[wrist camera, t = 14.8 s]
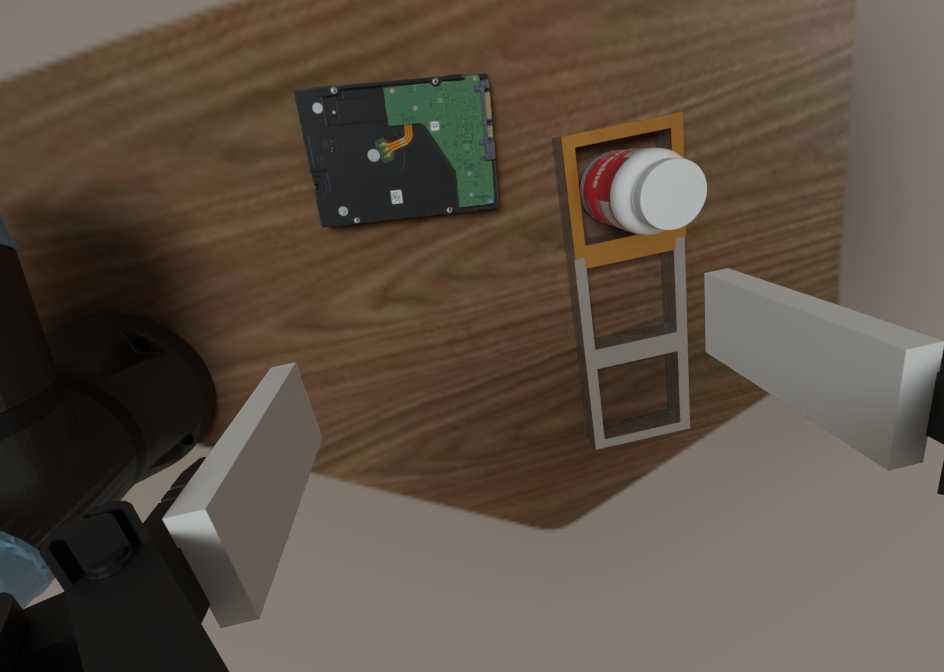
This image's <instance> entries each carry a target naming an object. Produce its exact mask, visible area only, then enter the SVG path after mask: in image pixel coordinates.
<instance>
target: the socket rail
mask: <svg viewBox="0 0 944 672" xmlns="http://www.w3.org/2000/svg"><path fill="white" fill-rule="evenodd" d="M653 131H655V143H656V148H665V149H669V150H672V151H674V152H676V153H678V154H679V155H680V156H682V157H683V158H684V140H683V112H679V113H674V114H669V115H664V116H659V117H654V118H649V119H645V120H640V121H635V122H630V123H625V124H620V125H615V126H611V127H606V128H601V129H596V130H591V131H586V132H581V133H576V134H572V135H567V136H562V137H557V138H552V144H553V152H554V160H555V169H556V177H557V185H558V193H559V202H560V210H561V218H562V227H563V235H564V243H565V251H566V260H567V268H568V276H569V285H570V293H571V301H572V310H573V318H574V326H575V334H576V343H577V351H578V359H579V368H580V376H581V384H582V392H583V401H584V409H585V417H586V426H587V434H588V438H589V439H590V441H591V443H592V444H593V446H594V447H595V449H596V450H597V449H602V448H606V447H610V446H615V445H619V444H623V443H628V442H632V441H637V440H641V439H645V438H650V437H654V436H658V435H663V434H667V433H671V432H676V431H680V430H685V429H689V428H690V408H689V374H688V340H687V307H686V273H685V239H684V236H686V225H685V226H683V227H681V228H678V229H675V230H666V231H663V232H661V233H658V234H653V235H640V234H636V233H632V232H629V231H626V230H625V231H620V232H615V233H611V234H606V235H601V236H596V237H592V238H587V239H584V229H583V220H582V210H581V201H580V191H579V182H578V172H577V163H576V153H575V147H580V146H585V145H590V144H595V143H599V142H604V141H609V140H614V139H619V138H624V137H629V136H633V135H638V134H643V133H648V132H653ZM657 253H661V268H662V289H663V310H664V324H660V325H656V326H651V327H647V328H642V329H638V330H633V331H629V332H624V333H620V334H615V335H611V336H606V337H602V338H597V339H594V334H593V325H592V315H591V306H590V296H589V287H588V278H587V268H592V267H597V266H602V265H606V264H611V263H615V262H620V261H625V260H629V259H634V258H639V257H643V256H648V255H653V254H657ZM663 354H666V372H667V393H668V410H667V411H663V412H658V413H654V414H649V415H645V416H641V417H636V418H632V419H627V420H623V421H619V422H614V423H610V424H605V425H603V419H602V410H601V400H600V391H599V381H598V372H597V369H600V368H604V367H609V366H613V365H618V364H622V363H627V362H631V361H636V360H640V359H645V358H649V357H654V356H658V355H663Z"/></svg>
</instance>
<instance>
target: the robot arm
mask: <svg viewBox="0 0 944 672" xmlns="http://www.w3.org/2000/svg"><path fill="white" fill-rule="evenodd" d="M18 250H20V249H19V246H18V244H17V243H16V241H15V240H13V239H12V238H10V236H9V234H8V231H7V229H6V227H5V224H4V222H3V219H2V217H1V214H0V672H229V671H228V669H227V667H226V665H225V664H224V662H223V660H222V659H221V657H220V655H219V654H218V652H217V650H216V648H215V647H214V645H213V643H212V642H211V640H210V638H209V636H208V635H207V633H206V631H205V630H204V628H203V626H202V625H201V623H202V621H203V619H204V617H205V615H206V613H207V610H208V608H209V607H210V609H211V611H212V612H213V614H214V616H215V618H216V620H217V622H218V624H219V626H220V628H223V627H227V626H232V625H236V624H240V623H244V622H249V621H253V620H257V619H259V618H260V616H261V612H262V610H263V607H264V604H265V601H266V598H267V595H268V592H269V590H270V587H271V584H272V581H273V578H274V575H275V573H276V570H277V567H278V564H279V561H280V558H281V555H282V552H283V549H284V547H285V544H286V541H287V538H288V535H289V532H290V529H291V526H292V524H293V520H294V518H295V515H296V512H297V509H298V507H299V504H300V501H301V498H302V495H303V492H304V489H305V486H306V484H307V481H308V478H309V475H310V472H311V469H312V466H313V463H314V461H315V458H316V455H317V452H318V449H319V446H320V443H321V441H322V435H321V432H320V429H319V426H318V424H317V421H316V418H315V415H314V412H313V410H312V407H311V404H310V401H309V398H308V396H307V393H306V390H305V387H304V384H303V382H302V379H301V376H300V373H299V370H298V368H297V365H296V362H295V363H291V364H286V365H281V366H277V367H272V368H270V370H269V371H268V373H267V374H266V375H265V377H264V378H263V380H262V381H261V382H260V384H259V385H258V387H257V388H256V389H255V391H254V392H253V393H252V395H251V396H250V398H249V399H248V400H247V402H246V403H245V405H244V406H243V407H242V409H241V410H240V411H239V413H238V414H237V416H236V417H235V418H234V420H233V421H232V423H231V424H230V425H229V427H228V428H227V430H226V431H225V432H224V434H223V435H222V436H221V438H220V439H219V441H218V442H217V443H216V445H215V446H214V448H213V449H212V450H211V452H210V453H209V454H208V456H207V457H203V458H200V459H198V460H197V461H196V462H195V463H193V464H192V465H191V466H190V467H189V468H187V469H186V470H185V471H183V473H181V474H180V476H179V477H178V478H177V480H176V481H175V483H174V484H173V485H172V486H171V490H169V491H168V492H167V493H166V494H165V495H164V497H163V498H162V499H161V503H158V505H157V506H156V507H155V508H154V510H153V511H152V512H151V514H150V515H149V516H148V518H147V519H146V520H145V522H144V523H142V522H141V520H140V518H139V516H138V514H137V513H136V511H135V509H134V507H133V505H132V504H131V503H129V502H127V501H120V500H121V499H122V498H123V497H124V496H125V495H126V493H127V492H128V491H129V489H131V488H132V486H133V485H134V484H136V483H138V482H140V481H142V480H144V479H146V478H148V477H150V476H152V475H153V474H156V473H157V472H159V471H161V470H163V469H165V468H167V467H169V466H171V465H173V464H174V463H176V462H178V461H179V460H180V459H182V458H183V457H184V456H185V455H187V454H188V452H190V451H191V450H192V449H193V447H194V446H195V445H196V444H197V443H198V441H199V440H200V439H201V438H202V436H203V435H204V434H205V432H206V431H207V429H208V427H209V425H210V423H211V421H212V418H213V414H214V408H215V393H214V388H213V384H212V380H211V378H210V375H209V373H208V371H207V369H206V367H205V365H204V363H203V362H202V360H201V359H200V358H199V356H198V355H197V354H196V353H195V352H194V350H193V349H192V348H191V347H190V346H189V345H188V344H187V343H185V342H184V341H183V340H182V339H181V338H179V337H178V336H177V335H175V334H174V333H172V332H171V331H169V330H167V329H166V328H164V327H162V326H160V325H158V324H156V323H153V322H151V321H148V320H145V319H142V318H139V317H135V316H130V315H124V314H112V313H105V314H94V315H88V316H84V317H80V318H77V319H75V320H72V321H70V322H68V323H66V324H63V325H61V326H59V327H57V328H55V329H53V330H51V331H49V332H47V333H46V334H44V332H43V329H42V326H41V323H40V320H39V317H38V314H37V311H36V308H35V305H34V302H33V299H32V296H31V293H30V290H29V287H28V284H27V281H26V278H25V275H24V272H23V270H22V267H21V264H20V261H19V258H18V255H17V252H16V251H18ZM705 336H706V352H707V353H708V354H710V355H711V356H713V357H714V358H716V359H718V360H719V361H721V362H722V363H724V364H725V365H727V366H728V367H730V368H731V369H733V370H734V371H736V372H737V373H739V374H741V375H742V376H744V377H745V378H747V379H748V380H750V381H751V382H753V383H754V384H756V385H757V386H759V387H761V388H762V389H764V390H765V391H767V392H768V393H770V394H771V395H773V396H774V397H776V398H778V399H779V400H781V401H782V402H784V403H785V404H787V405H788V406H790V407H791V408H793V409H794V410H796V411H797V412H799V413H800V414H802V415H804V416H805V417H807V418H808V419H810V420H812V421H813V422H814V423H816V424H817V425H819V426H821V427H822V428H824V429H825V430H827V431H828V432H830V433H831V434H833V435H834V436H836V437H837V438H839V439H840V440H842V441H844V442H845V443H847V444H848V445H850V446H851V447H853V448H854V449H856V450H857V451H859V452H861V453H862V454H864V455H865V456H867V457H868V458H870V459H871V460H873V461H875V462H876V463H877V464H879V465H880V466H882V467H883V468H885V469H887V470H892V469H896V468H901V467H905V466H909V465H913V464H917V463H922V462H923V459H924V453H925V448H926V442H927V437H928V436H929V437H931V438H933V439H934V440H936V441H938V442H940V443H942V444H944V340H941V339H938V338H935V337H932V336H929V335H926V334H922V333H920V332H917V331H913V330H910V329H908V328H905V327H902V326H899V325H895V324H893V323H889V322H887V321H884V320H881V319H878V318H875V317H871V316H869V315H866V314H863V313H860V312H857V311H854V310H851V309H848V308H845V307H842V306H839V305H836V304H833V303H830V302H827V301H824V300H821V299H818V298H815V297H812V296H809V295H806V294H803V293H800V292H797V291H794V290H791V289H788V288H785V287H782V286H779V285H776V284H773V283H770V282H767V281H764V280H761V279H758V278H755V277H752V276H749V275H746V274H743V273H740V272H737V271H734V270H731V269H728V268H727V269H722V270H717V271H713V272H708V273H705ZM938 494H942V495H944V462H943V467H942V472H941V477H940V482H939V487H938ZM54 578H56V579H57V581H58V582H59V583H60V585H61V586H62V588H63V589H64V591H65V592H63V593H60V594H58V595H56V596H53V597H51V598H49V599H46V600H44V601H42V602H39V603H37V604H35V605H32V606H30V607H28V608H25V607H26V606H27V605H28V604H29V603H30V602H31V601H32V600H33V599H34V598H35V597H37V596H39V595H40V594H42V593H43V592H44V591H45V589H47V588H48V587H49V585H50V584H51V582H52V581H53V579H54ZM24 608H25V609H24Z"/></svg>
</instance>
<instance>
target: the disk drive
mask: <svg viewBox="0 0 944 672" xmlns="http://www.w3.org/2000/svg"><path fill="white" fill-rule="evenodd" d="M489 88H490V85H489V82H488V75H487V74H478V75H476V74H474V75H463V74H458V75H457V74H454V75H448V76H442V77H432V78H421V79H409V80H399V81H397V80H396V81H386V82H376V83H363V84H354V85H342V86H322V87H314V88H311V89H301V90H295V92H294V93H295V100H296V104H297V109H298V113H299V119H300V122H301V127H302V132H303V138H304V143H305V148H306V153H307V157H308V163H309V169H310V172H311V175H312V178H313V182H314V185H315V186H316V189H315V191H316V198H317V199H316V202H317V207H318V212H319V217H320V222H321V226H322V227H329V226H346V225H353V224H357V223H358V224H359V223H368V222H378V221H386V220H396V219H404V218H413V217H422V216H432V215H442V214H451V213H460V212H461V213H464V212H474V211H477V210H486V209H494V208H497V207H498V191H497V176H496V162H495V160H494V159H495V143H494V141H493V124H492V112H491V99H490V92H489Z"/></svg>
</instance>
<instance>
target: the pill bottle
mask: <svg viewBox="0 0 944 672" xmlns="http://www.w3.org/2000/svg"><path fill="white" fill-rule="evenodd" d="M706 194H707V183H706V179H705V176H704V174H703V172H702V170H701V169H700V168H699V167H698V166H697V165H696V164H695V163H694V162H692V161H690V160H687V159H684V158H683V157H682V156H680V155H679V154H678V153H676V152H674V151H672V150H669V149H665V148H642V149H626V150H625V149H624V150H614V151H609V152H606V153H604V154H602V155H600V156H599V157H597V158H596V159H595V160H594V161H592V163H591V164H590V165H589V166H588V167H587V169H586V171H585V172H584V174H583V177H582V180H581V184H580V197H581V201H582V204H583V206H584V208H585V210H586V211H587V213H588V214H589V215H590V216H591V217H593V218H594V219H596V220H598V221H600V222H602V223H606V224H608V225H611V226H615V227H617V228H620V229H623V230H626V231H629V232H632V233H636V234H640V235H653V234H658V233H661V232H663V231H666V230H675V229H678V228H681V227H683V226H685V225H687V224H688V223H690V222H691V221H692V220H693V219H694V218H695V217H696V216H697V215H698V213H699V212H700V210H701V209H702V207H703V204H704V202H705V199H706Z"/></svg>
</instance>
